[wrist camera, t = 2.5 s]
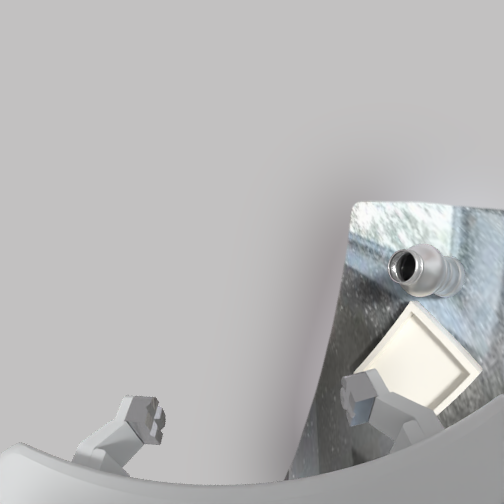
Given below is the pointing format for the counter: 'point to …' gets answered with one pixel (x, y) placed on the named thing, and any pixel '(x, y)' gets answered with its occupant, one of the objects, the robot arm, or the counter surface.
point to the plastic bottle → (426, 271)
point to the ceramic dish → (422, 360)
